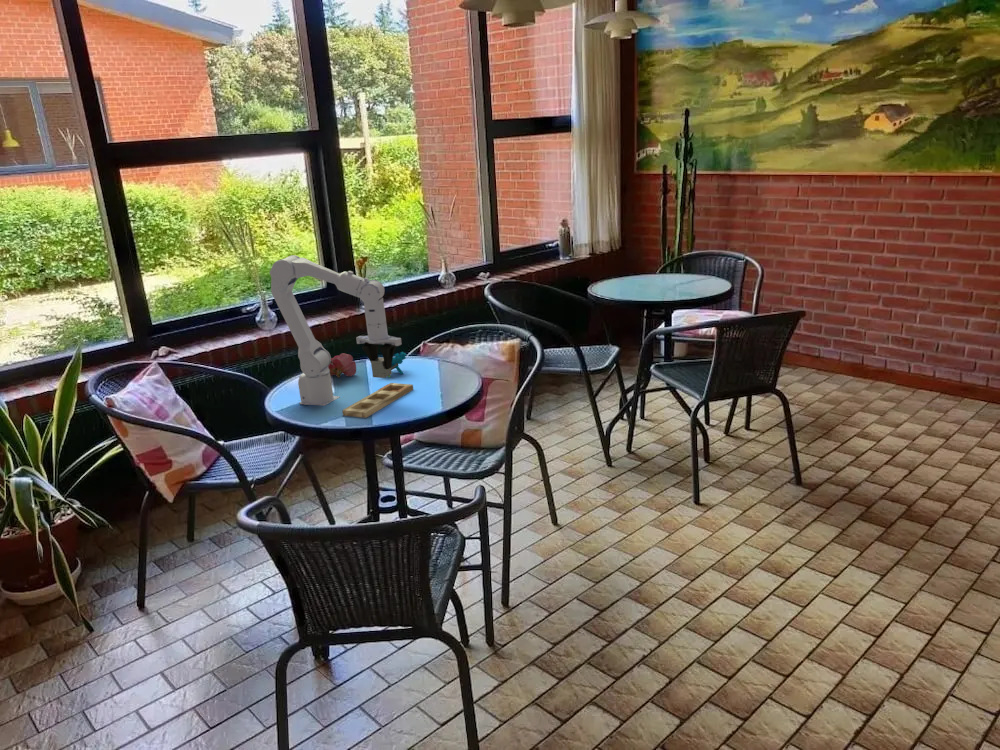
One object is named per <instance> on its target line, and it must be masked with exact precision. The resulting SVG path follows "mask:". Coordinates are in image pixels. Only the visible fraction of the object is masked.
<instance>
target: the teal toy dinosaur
mask: <svg viewBox="0 0 1000 750" xmlns="http://www.w3.org/2000/svg"><path fill="white" fill-rule="evenodd" d="M406 356H407V353H405V352H404V351H401V352H399V353H398V352H397V353H394V356H393V359H392V367H391V371H393V370H395V369H396V370H397V371H398V373H399V374H400V375H401V374H402V375H404V371H402V369H401V368H400V366H399V365H401V364H403V363H404V362H403V361H404V360H406ZM389 377H390V378H392V377H391V375H389V376H387V378H389Z"/></svg>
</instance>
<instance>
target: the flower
mask: <svg viewBox="0 0 1000 750" xmlns="http://www.w3.org/2000/svg"><path fill="white" fill-rule="evenodd" d="M353 358H354V356H352V355H351V354H347V353H345V352H344V353H343V352H342V353H340V354H339V355H334V357H331V362H330V364H329V365H328V368H329V370H330V377H331V378H332V377H333V376H336V377H337V378H338V379H339V381H340V383H342V381H341V379H340V378H341V376H342V374H343V375H344V376H346V377H353V376H355V375H356V373H357V364H356V361H355V360H354V359H353ZM352 375H353V376H352Z"/></svg>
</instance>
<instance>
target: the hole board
mask: <svg viewBox="0 0 1000 750" xmlns="http://www.w3.org/2000/svg"><path fill="white" fill-rule="evenodd" d="M411 391H414V385H413V384H409V383H396V382H390V383H388V384H386V385H384V386H382V387H381V388H379V389H377V390H376V391H374V392H372V393H370V394H369V395H367V396H364V397H363V398H362V399H360V400H358V401H356V402H354V403H353V404H351V405H349V406H347V407H345V408H344V409H342V410H341V411H342V416H344V417H345V416H346V417H355V418H368V417H370V416H372V415H374V414H375V413H377V412H378V411H380V410H382V409H383V408H385V407H386V406H388V405H390V404H392V403H394V402H395V401H397V400H399V399H400V398H402V397H403V396H405V395H407V394H408V393H410V392H411Z"/></svg>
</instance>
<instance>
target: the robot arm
mask: <svg viewBox="0 0 1000 750" xmlns="http://www.w3.org/2000/svg"><path fill="white" fill-rule="evenodd" d="M269 275H270V277H271V279H270V281H271V284H270V287H271V289H270V290H271V291H270V292H271V295H272V297H273V299H274V301H275V302H276V305H277V307H278V309H279V311H280V313H281V315H282V317H283V319H284V321H285V324H286V325H287V326H288V329H289V330H290V333H291V335H292V336H293V339H294V341H295V343H296V345H297V347H298V352H297V354H298V355H297V357H298V359H299V363H300V364H299V366H300V367H299V368H300V369H301V372H302V373H301V375H299V378H298V381H297V382H298V384H297V385H298V390H299V396H300V397H299V398H300V402H299V405H304V406H305V405H306V406H311V405H313V406H321V407H322V406H326V405H328V404H329V403H332V402H333V401H336V400H337V399H339V398H340V396H337V395H334V390H333V385H332V376H331V377H330V370H329V368H328V365H329V364H330V362H331V359H332V357H331V354H330V352H329V351H328V349H327V350H326V349H325V348H324V346H323V345H322V343H321V342H320V341H318V340H317V339H316V338H315V335H314V334H313V332H312V329H311V328H310V325H309V324H308V321H307V319H306V317H305V316H304V314H303V312H302V309H301V307H300V305H299V303H298V301H297V299H296V296H295V295H294V293H293V288H294V287H295V284H296V282H297V280H298V279H299V278H303V277H312V278H314V279H319V280H320V281H321V280H322V281H323V282H327V283H329V284H330V283H331V284H334V285H335V287H336V289H337V290H338V291H339V292H340V291H341V292H343V293H345V294H349V295H351V296H353V297H356V298H359V299H360V300H361V301H362V303H363V306H364V307H363V308H364V315H365V322H366V323H365V325H366V331H367V335H359V336H356V344H357V345H360V344H364V345H362V346H361V347H362V348H361V349H362V350H363V351H364V353H365V354H366V356H367V358H368V360H369V361H370V363H371V361H372V360H374V359H376V358H378V357H379V349H380V351H381V354H382V357H383V358H384V364H385V368H386V369H389V368H391V367H392V359H393V358H394V355H395V351H396V348H397V347H399V346H401V345H402V338H401V337H396V336H392V335H389V334H388V324H387V318H386V317H387V315H386V310H385V309H386V308H385V304H384V303H385V302H384V297H383V296H384V295H385V286H384V285H383V283H382V282H380V281H379V280H378V279H371V280H370V277H369V278H368V277H362V276H359V275H356V274H354V271H352V270H348V271H343V272H336V271H335V270H332V269H330V268H327V267H325V266H323V265H320V264H318V263H316V262H314V261H312V260H309V259H308V258H307V257H306V258H305V257H299V256H298V255H293V254H291V255H289V256H287V257H285V258H282V259H279V260H276V261H274V263H273V264H272V266H271V269H270V270H269ZM379 345H383V346H380V347H379Z"/></svg>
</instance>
